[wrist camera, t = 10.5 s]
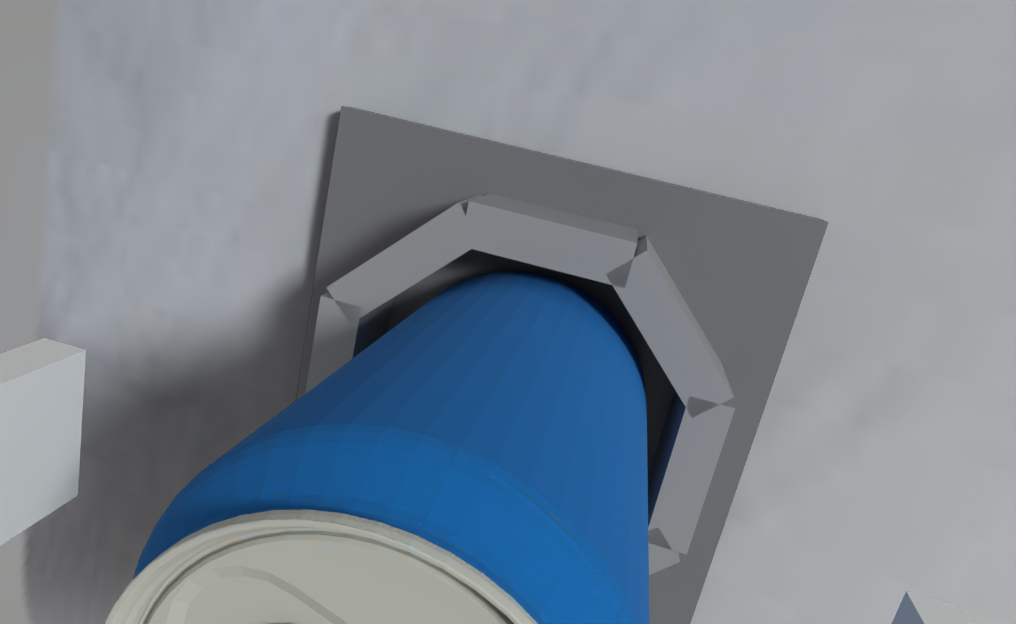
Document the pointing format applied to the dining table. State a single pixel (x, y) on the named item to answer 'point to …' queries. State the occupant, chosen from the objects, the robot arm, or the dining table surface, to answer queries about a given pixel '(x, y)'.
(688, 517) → the cup holder
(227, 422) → the dining table surface
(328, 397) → the beverage can
